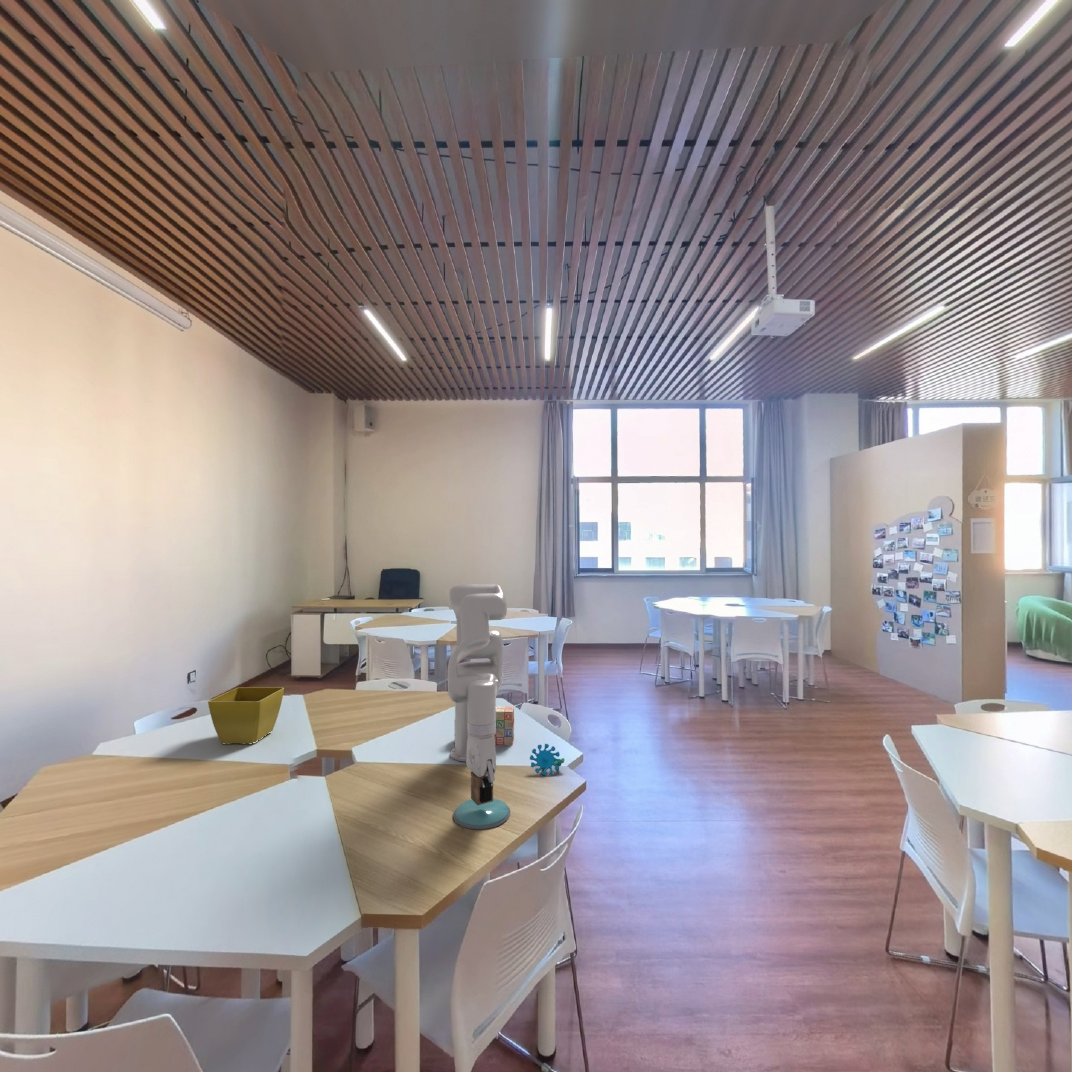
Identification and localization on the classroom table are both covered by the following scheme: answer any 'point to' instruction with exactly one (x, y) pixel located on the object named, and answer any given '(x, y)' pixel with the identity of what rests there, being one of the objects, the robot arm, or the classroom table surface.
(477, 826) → the teal domed disc
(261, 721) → the flower pot
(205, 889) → the classroom table surface
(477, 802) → the walnut block
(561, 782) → the classroom table surface
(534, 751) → the spiky teal germ figurine
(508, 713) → the stack of blocks
